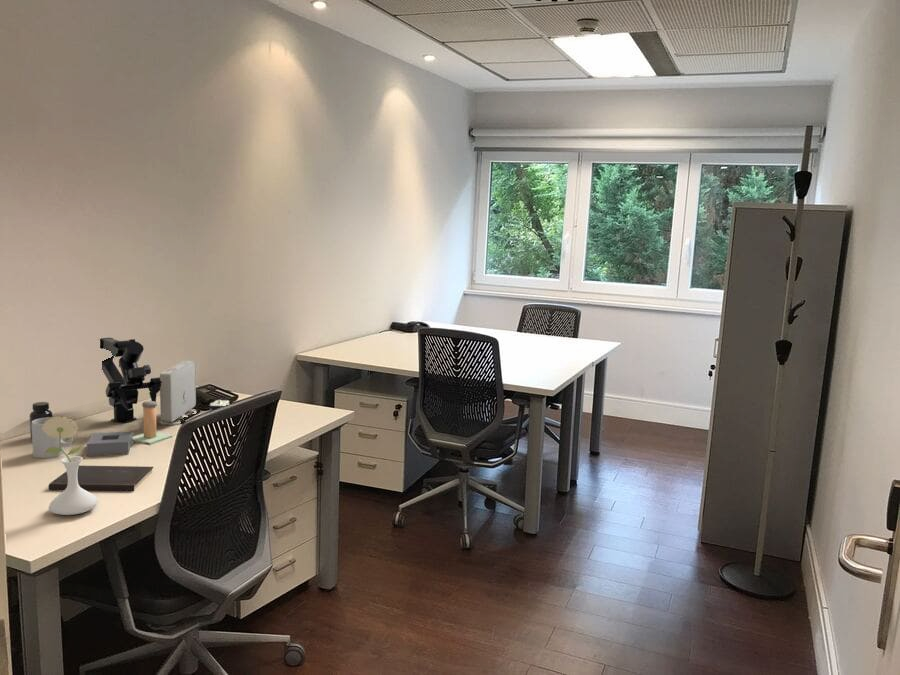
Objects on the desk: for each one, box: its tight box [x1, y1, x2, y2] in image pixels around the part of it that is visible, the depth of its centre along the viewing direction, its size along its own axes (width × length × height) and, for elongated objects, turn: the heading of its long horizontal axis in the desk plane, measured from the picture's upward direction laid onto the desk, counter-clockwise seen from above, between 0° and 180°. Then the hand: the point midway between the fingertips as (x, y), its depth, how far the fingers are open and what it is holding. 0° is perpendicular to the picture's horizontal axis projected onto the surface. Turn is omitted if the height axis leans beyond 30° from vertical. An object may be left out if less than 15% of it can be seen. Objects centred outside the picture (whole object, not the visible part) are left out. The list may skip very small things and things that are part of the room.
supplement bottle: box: [29, 401, 54, 440], centre depth 245 cm, size 7×7×12 cm
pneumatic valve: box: [208, 399, 230, 411], centre depth 259 cm, size 6×12×12 cm, turn 3°
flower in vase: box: [42, 416, 99, 516], centre depth 186 cm, size 13×11×25 cm
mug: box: [31, 416, 74, 459], centre depth 229 cm, size 12×8×11 cm
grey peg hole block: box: [86, 431, 134, 457], centre depth 236 cm, size 12×12×4 cm
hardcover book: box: [48, 464, 154, 492], centre depth 209 cm, size 16×23×2 cm
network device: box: [159, 360, 198, 426], centre depth 275 cm, size 26×9×20 cm, turn 179°
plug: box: [141, 400, 158, 438], centre depth 249 cm, size 5×5×12 cm
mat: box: [133, 431, 173, 445], centre depth 250 cm, size 10×10×1 cm
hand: (141, 407), depth 254 cm, fingers open, 9 cm apart
